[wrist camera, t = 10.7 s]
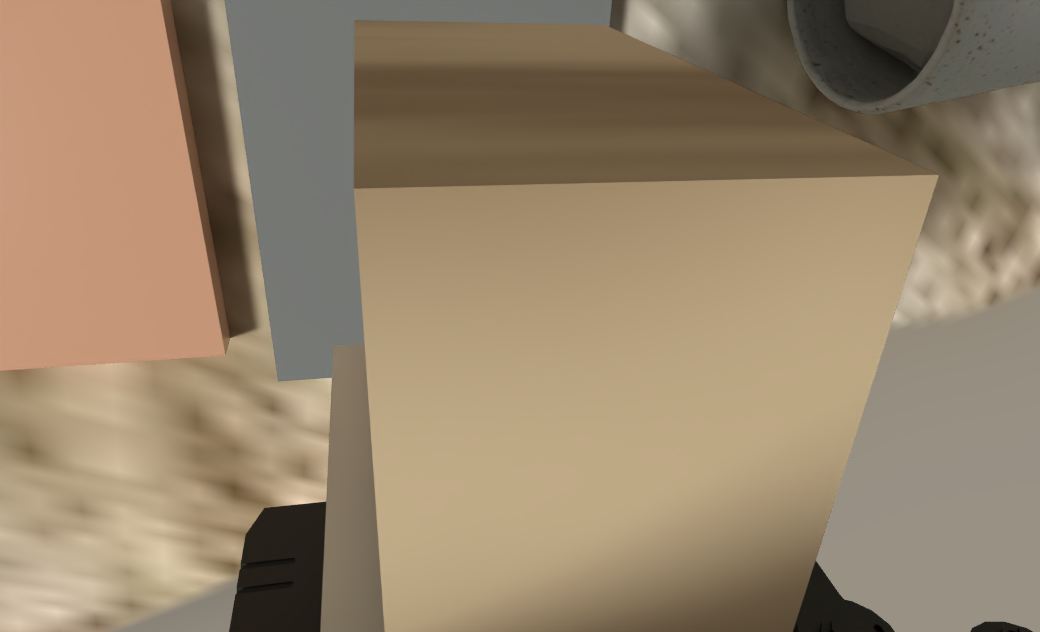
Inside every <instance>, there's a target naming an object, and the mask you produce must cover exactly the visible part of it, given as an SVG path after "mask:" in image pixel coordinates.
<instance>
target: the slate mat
mask: <svg viewBox="0 0 1040 632" xmlns="http://www.w3.org/2000/svg"><path fill="white" fill-rule="evenodd" d="M611 5H612V0H225V6H226V13H227V21H228V28H229V35H230V42H231V49H232V56H233V63H234V70H235V78H236V85H237V92H238V99H239V106H240V113H241V120H242V127H243V135H244V142H245V149H246V156H247V163H248V170H249V177H250V184H251V192H252V199H253V206H254V213H255V220H256V227H257V234H258V242H259V249H260V256H261V263H262V270H263V277H264V284H265V291H266V299H267V306H268V313H269V320H270V327H271V334H272V341H273V348H274V356H275V363H276V370H277V377H278V381H290V380H304V379H318V378H332V368H333V346H343V345H359V344H365V342H364V328H363V314H362V299H361V285H360V270H359V256H358V242H357V227H356V213H355V199H354V20H377V21H430V22H483V23H536V24H589V25H606V26H608V27H610V16H611Z"/></svg>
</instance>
